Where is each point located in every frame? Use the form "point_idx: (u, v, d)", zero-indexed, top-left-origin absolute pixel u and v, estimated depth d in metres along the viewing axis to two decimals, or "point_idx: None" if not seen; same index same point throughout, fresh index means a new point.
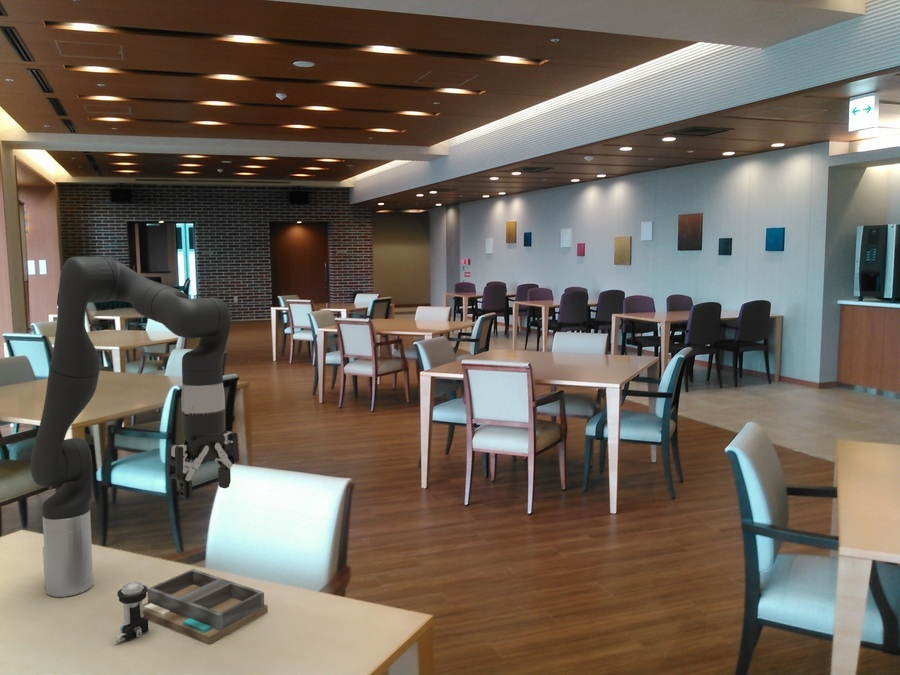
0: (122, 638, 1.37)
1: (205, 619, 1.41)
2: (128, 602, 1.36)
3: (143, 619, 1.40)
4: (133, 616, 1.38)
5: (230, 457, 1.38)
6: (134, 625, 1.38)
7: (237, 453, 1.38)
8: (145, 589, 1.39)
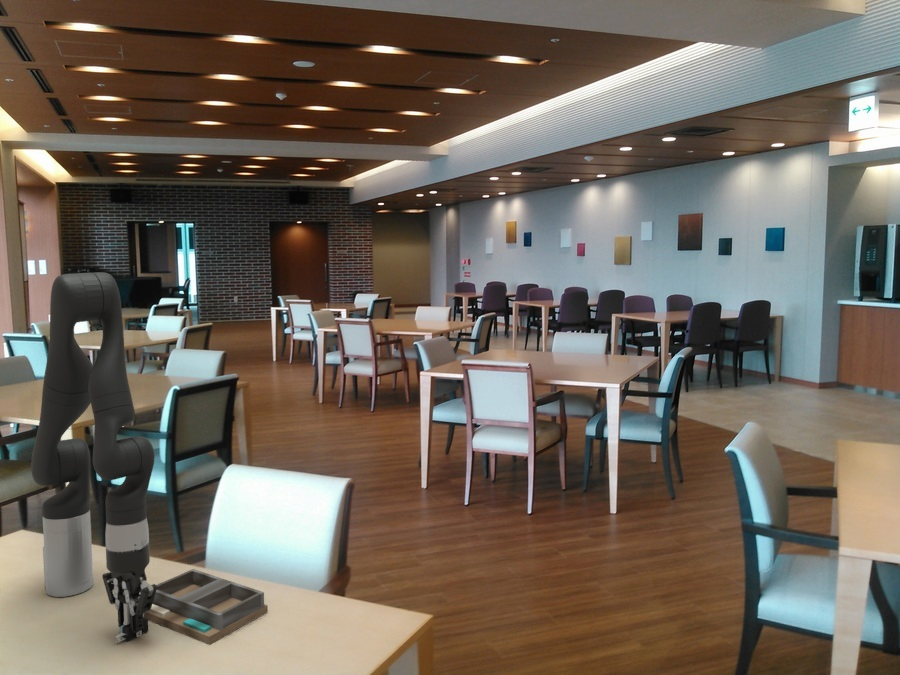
0: (122, 638, 1.37)
1: (205, 619, 1.41)
2: None
3: (143, 619, 1.40)
4: None
5: None
6: None
7: None
8: None
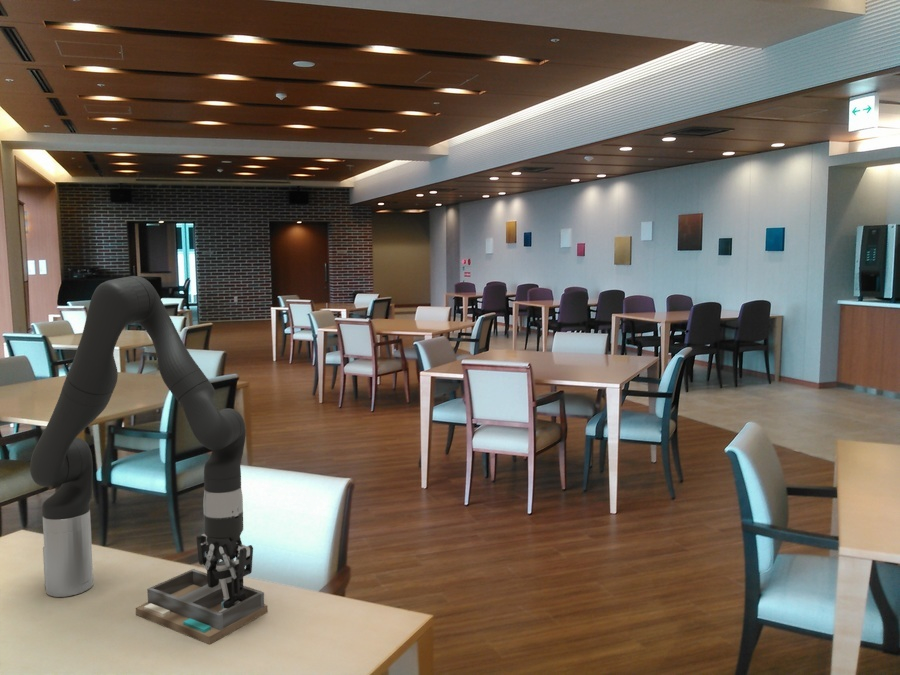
0: None
1: (205, 619, 1.41)
2: (225, 577, 1.43)
3: (241, 594, 1.47)
4: (231, 590, 1.45)
5: None
6: (234, 599, 1.45)
7: None
8: None
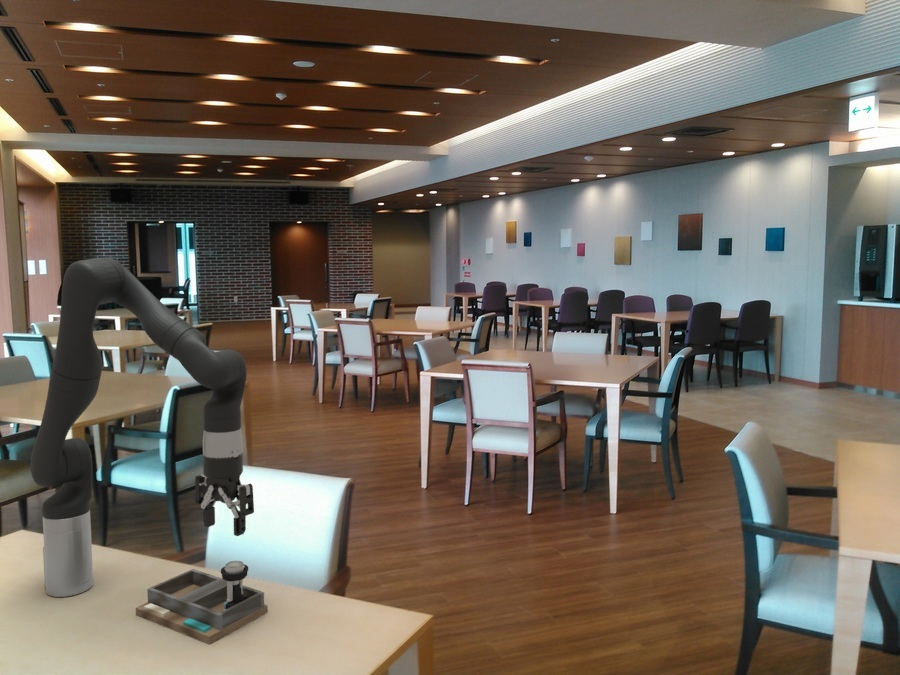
0: None
1: (205, 619, 1.41)
2: (232, 580, 1.43)
3: (243, 597, 1.47)
4: (236, 593, 1.44)
5: (204, 498, 1.47)
6: (237, 602, 1.44)
7: None
8: (246, 567, 1.46)
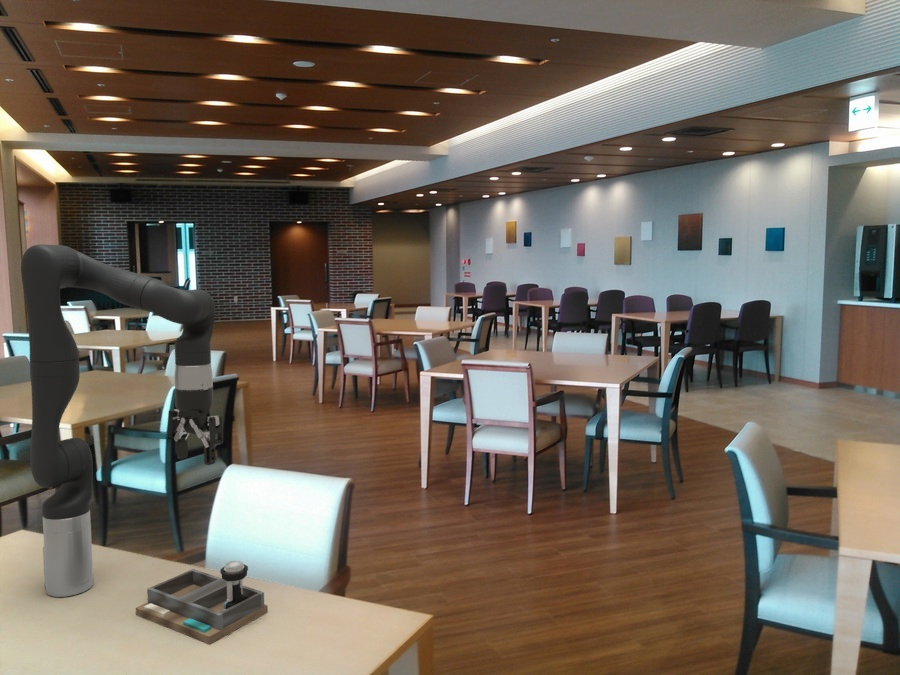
0: None
1: (205, 619, 1.41)
2: (232, 580, 1.43)
3: (243, 596, 1.47)
4: (236, 593, 1.44)
5: (177, 432, 1.55)
6: (236, 602, 1.44)
7: None
8: (246, 567, 1.46)
